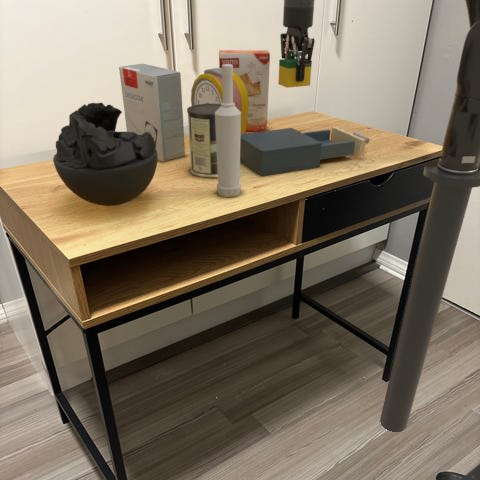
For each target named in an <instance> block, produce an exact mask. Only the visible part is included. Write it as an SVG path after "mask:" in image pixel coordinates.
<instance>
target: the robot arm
mask: <svg viewBox="0 0 480 480" xmlns="http://www.w3.org/2000/svg"><path fill="white" fill-rule="evenodd" d="M464 2H465V5H466V6H465V7H466V11H467V16H468V17H467V18H468V24H469V30H468V31H467V33H466V36H465V39H464V42H463V46H462V49H461V50H462V51H461V55H460V60H459V65H458V70H457V74H456V82H455V91H454V95H453V99H452V104H451V108H450V112H449V117H448V122H447V125H446V130H445V135H444V138H443V139H444V140H443V144H442V147H441V152H440V157H439V159H440V160H439V163H438V168H439V169H440V170H442V171H444V172H447V173H451V174H457V175H470V174H475V173H476V172H477V171H478V170H480V0H464ZM314 12H315V0H283V12H282V13H283V14H282V26H283V27H284V28H287V29H286V32H284V33H280V51H281V52H280V54H281V60H282V59H295V58H296V63H297V66H296V81H297V82H302V81H304V75H305V66H306V65H307V64H310V63H311V61H312V57H313V51H314V47H315V43H316V42H315V38H314V37H312V38H311V37H309V31H308V30H309V28H312V27H313V26H314V25H313V24H314ZM300 58H301V59H300Z"/></svg>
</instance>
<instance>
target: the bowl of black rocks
mask: <svg viewBox="0 0 480 480" xmlns="http://www.w3.org/2000/svg"><path fill="white" fill-rule="evenodd" d="M122 113H123V111H122V110H121V109H119V108H117V107H114V106H113V105H111V104H107V105H105V104H104V103H103V102H90V103H87V104H85V103H84V104H83V105H81V106H80V107H78V109H75V110H74V111H73V112H71V113H70V114H69V118H68V119H69V120H68V122H69V123H68V125H65V126H63V127H62V128H61V129H60V131H61V132H60V133H59V135H58V138H57V139H58V140H56V141H55V149H56V153H55V154H54V155H53V158H52V162H53V165H54V168H55V170H56V173H57V175H58V176H59V178H60V179H61V181H62V183H64V185H65V187H66V188H67V189H68V190H70V192H71V193H73V194H74V195H76V196H77V197H79V198H80V199H81V200H83V201H85V202H87V203H90V204H93V205H97V206H103V207H113V206H114V207H115V206H120V205H124V204H127V203H130V202H132V201H134V200H135V199H137V198H138V197H139V196H141V195H142V194H143V193H144V192H145V191H146V190H147V188H148V187H149V185H150V184H151V182H152V181H153V179H154V176H155V173H156V171H157V170H156V169H157V166H158V160H157V159H158V153H157V150H156V149H155V144H154V138H153V137H152V135H151V134H150V133H149V132H145V133H144V134H142V135H138V134H136V133H135V132H127V131H117V124H118V119H119V118H120V116H121V115H122Z"/></svg>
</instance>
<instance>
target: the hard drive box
mask: <svg viewBox="0 0 480 480" xmlns="http://www.w3.org/2000/svg"><path fill="white" fill-rule="evenodd" d="M118 69H119V78H120V79H119V80H120V86H121V93H122V94H121V95H122V101H123V109H124V110H123V111H124V119H125V127H126V132H135V133H136V134H138V135H142V134H144V133H145V132H149V133H150V134H151V135H152V137H153V138H154V144H155V149H156V150H157V153H158V159H157V161H160V162H162V163H164V162H168V161H171V160H174V159H178V158H182V157H185V156H186V144H185V143H186V142H185V130H184V129H185V127H184V126H185V125H184V111H183V110H184V109H183V94H182V93H183V91H182V75H181V72H180V71H178V70H173V69H168V68H164V67H160V66H157V65H151V64H147V63H137V64H130V65H121V66H119V67H118Z"/></svg>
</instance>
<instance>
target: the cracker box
mask: <svg viewBox="0 0 480 480" xmlns="http://www.w3.org/2000/svg"><path fill="white" fill-rule="evenodd" d="M270 61H271V53H270V51H269V50H267V49H264V50H261V49H259V50H258V49H256V50H255V49H219V50H218V68H221V69H222V65H224V64H231V65H233V72H234V73H236V74H238V76H239V77H240V78H241V80H242V81H243V82H244V85H245V88H246V90H247V93H248V101H249V108H248V116H247V124H246V132H262V131H268V114H269V113H268V109H269V87H270Z"/></svg>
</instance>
